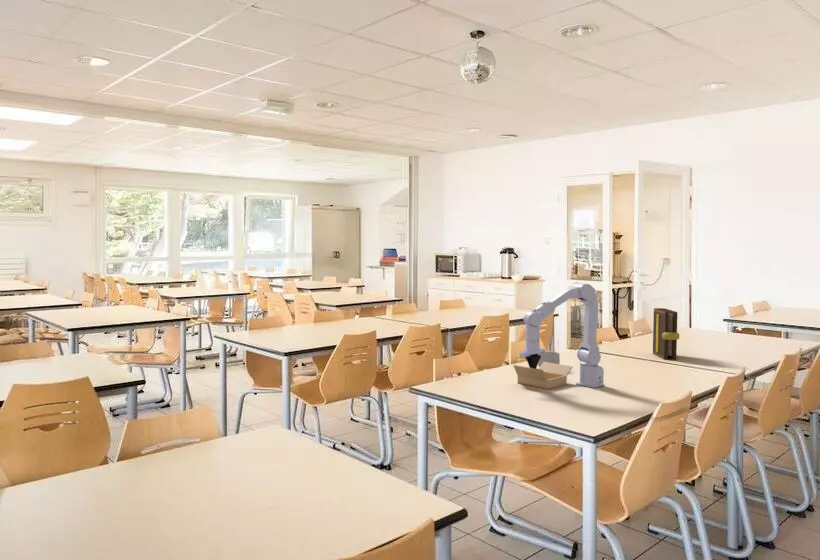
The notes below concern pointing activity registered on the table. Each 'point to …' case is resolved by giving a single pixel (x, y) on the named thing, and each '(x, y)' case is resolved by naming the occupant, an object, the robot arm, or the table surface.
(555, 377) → the carton
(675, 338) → the book
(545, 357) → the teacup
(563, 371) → the flap right
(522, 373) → the flap left
